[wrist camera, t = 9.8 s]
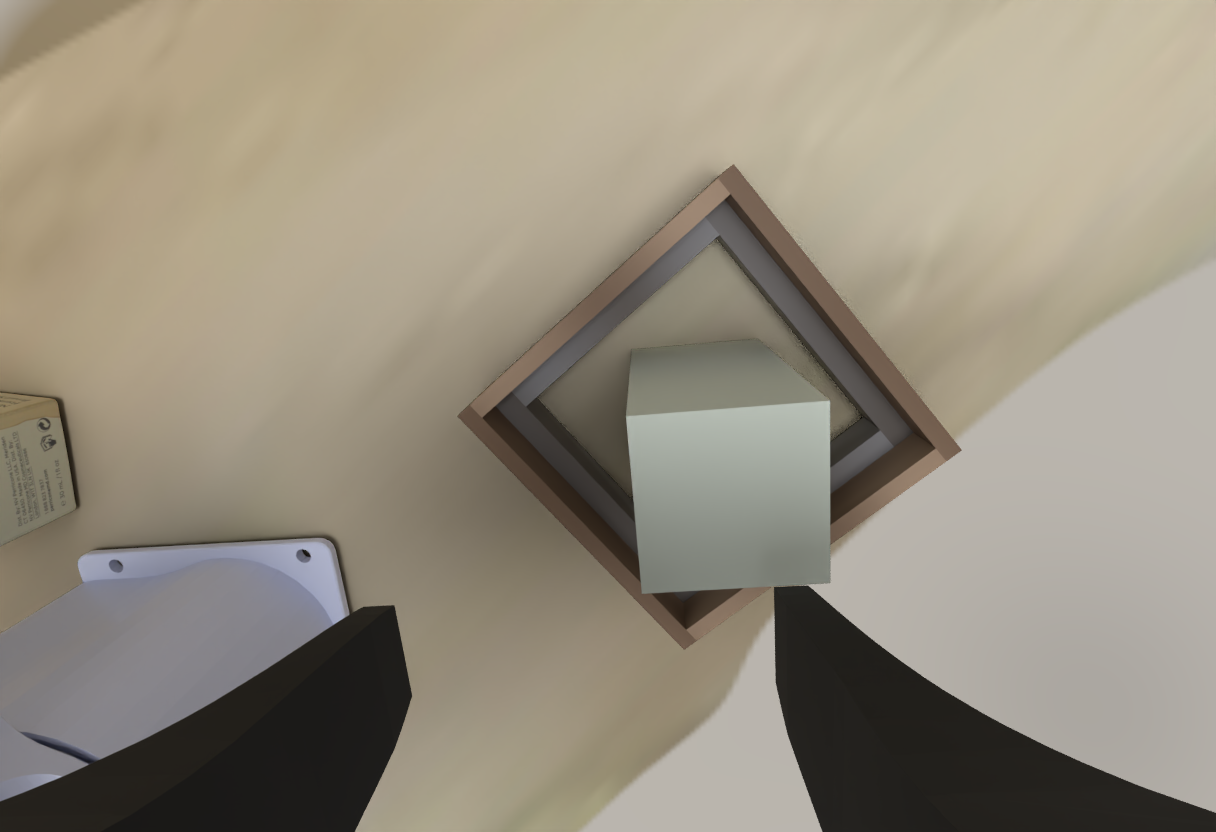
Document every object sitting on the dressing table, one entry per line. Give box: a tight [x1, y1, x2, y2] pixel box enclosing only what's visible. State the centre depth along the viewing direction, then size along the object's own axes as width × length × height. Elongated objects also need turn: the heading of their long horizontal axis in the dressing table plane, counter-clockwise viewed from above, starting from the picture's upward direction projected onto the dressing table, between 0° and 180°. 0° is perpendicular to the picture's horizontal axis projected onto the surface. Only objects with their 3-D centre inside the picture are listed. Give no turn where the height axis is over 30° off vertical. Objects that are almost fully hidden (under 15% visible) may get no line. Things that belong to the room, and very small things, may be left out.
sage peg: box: [626, 339, 830, 594], centre depth 17 cm, size 4×4×8 cm
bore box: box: [458, 164, 961, 649], centre depth 19 cm, size 10×10×3 cm
